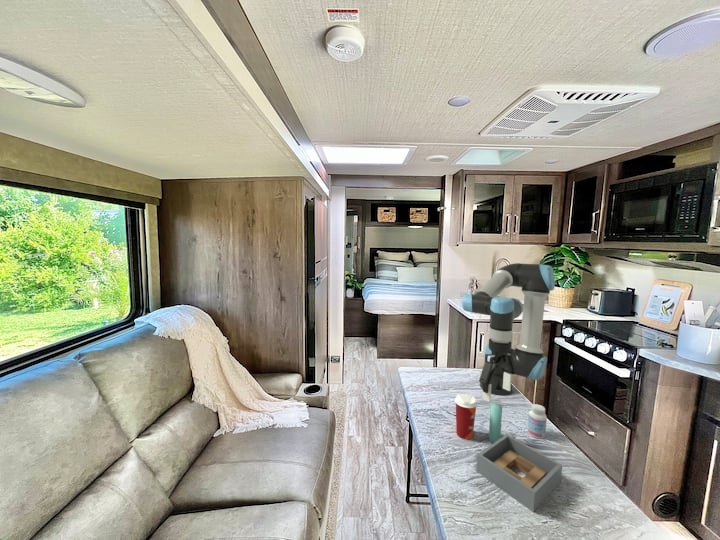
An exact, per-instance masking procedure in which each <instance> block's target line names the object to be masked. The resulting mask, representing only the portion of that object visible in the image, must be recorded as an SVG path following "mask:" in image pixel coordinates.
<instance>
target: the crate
mask: <svg viewBox="0 0 720 540" xmlns="http://www.w3.org/2000/svg"><path fill="white" fill-rule="evenodd" d="M509 450H511V451H513V452H515V453H516V454H518V455H520V456H521V457H523V458H525V459H526V460H528V461H530V462H531V463H533V464H535V465H536V466H538V467H540V468H542V469H543V470H545V471H547V475H546V476H545V477H544V478H543V479H542V480H541V481H540V482H539V483H538V484H537V485H536V486H535V487H534V488H533V489H532V488H531V487H529V486H528V485H526V484H525V483H523V482H522V481H520V480H519V479H517V478H516V477H514V476H513V475H511V474H510V473H508V472H507V471H505V470H504V469H502V468H501V467H499V466H498V465H496V464H495V463H493V462H495V461H496V460H497V459H498V458H500V457H501V456H502V455H504V454H505V453H506V452H508V451H509ZM476 472H477V473H478V474H480V475H481V476H482V477H484V478H485V479H486V480H488V481H490V482H491V483H492V484H493V485H495V486H496V487H498V488H500V489H501V490H502V491H503V492H504V493H506V494H507V495H509V496H510V497H511V498H513V499H514V500H516V501H517V502H519V504H521V505H523V506H524V507H526V508H527V509H528V510H529V511H531V512H532V513H534V512H535V511H536V510H537V509H538V508H539V506H541V505H542V503H543V502H544V501H545V500H546V499H547V498H548V497H549V496H550V495H551V494H552V493H553V491H554V490H556V488H557V487H558V486H559V485H560V484H561V483H562V473H563V464H562V463H559V462H558V461H556V460H554V459H552V458H551V457H550V456H547V455H546V454H544V453H542V452H540V451H538V450H536V449H534V448H533V447H531V446H530V445H528V444H525V443H523V442H522V441H520V440H519V439H517V438H515V437H513V436H511V435H509V434H507V433H506V434H504V435H502V437H500V439H499V440H497V441H496V442H494V443H492V444H490V445H489V446H487V447H486V448H485V449H483V450H482V451H480V452H479V453H477V455H476Z"/></svg>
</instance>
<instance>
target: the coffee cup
mask: <svg viewBox="0 0 720 540" xmlns="http://www.w3.org/2000/svg"><path fill="white" fill-rule="evenodd" d="M454 403H455V425H456V427H455V430H456V435H457V436H458V438H460V439H462V440H465V441H466V440H471V439H473V437H474V436H473V434H474V427H475V419H476V410H477V406H478V402H477V399H476V398H475V396H473V395H470V394H469V393H468V394H467V393H460V394H459V393H458V394H457V395H456V397H455V399H454Z"/></svg>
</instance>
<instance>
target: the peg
mask: <svg viewBox="0 0 720 540" xmlns="http://www.w3.org/2000/svg"><path fill="white" fill-rule="evenodd" d="M489 411H490V412H489V413H490V414H489V430H488V441H489V442H490V443H492V444H493V443H494V442H496V441H497V440H499V439H500V438H502V437H501V436H502V435H501V432H502V420H503V419H502V417H503V406H502V405H501V404H499V403H498V402H492V403H490V409H489Z"/></svg>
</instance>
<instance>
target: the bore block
mask: <svg viewBox="0 0 720 540" xmlns="http://www.w3.org/2000/svg"><path fill="white" fill-rule="evenodd" d="M493 463H495V464H496V465H498V466H499V467H501V468H502V469H504V470H505V471H507V472H508V473H510V474H511V475H513V476H514V477H516V478H517V479H519V480H520V481H522V482H523V483H525V484H526V485H528V486H529V487H531V488H532V489H533V488H534V487H535V486H536V485H537V484H538V483H539V482H540V481H541V480H542V479H543V478H544V477H545V476H546V475H547V471H545V470H543V469H542V468H540V467H538V466H536V465H535V464H533V463H531V462H530V461H528V460H526V459H525V458H523V457H521V456H520V455H518V454H516V453H515V452H513V451H511V450H509V451H508V452H506V453H505V454H504V455H502V456H501V457H500V458H498V459H497V460H496V461H494V462H493ZM513 468H514V469H515V470H518V472H521V473H522V474H523V475H524V476H521V475H520V474H517V473H516V472H515V471H513V470H512V469H513Z"/></svg>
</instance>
